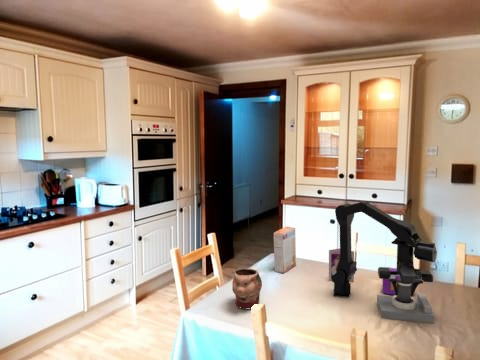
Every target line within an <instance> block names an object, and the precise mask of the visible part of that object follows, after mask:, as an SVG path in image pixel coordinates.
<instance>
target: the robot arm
mask: <svg viewBox="0 0 480 360" xmlns="http://www.w3.org/2000/svg"><path fill="white" fill-rule="evenodd" d="M357 213H363V214H365V215H366V216H368V217H370V218H371V219H373V220H374V221H376V222H378V223H379V224H381V225H383V226H384V227H386V228H387V229H388V230H389V231H390V233H391V234H392V235H393V236H394V237H396V238H395V239H393V240H392V241H391V244H393V245H397V246H396V269H397V271H390V270H389V268H388V267H389V266H384V267H383V266H379V267H378V268H377V274H378V275H377V276H378V279H380V280H381V279H382V280H383V279H388V281H391V282H392V284H393V287H394V291H395V294H396V295H397V280H396V278H395V277H396V276H400V278H401V281H402V282H411V283H412V285H411V297H412V298H413V296H414V294H415V291H416V290H417V287H418V286H419V285H420V284H421V285H422V284H423V283H434V275H433V274H432V273H431V270H429V269H420V268H415V266H414V265H415V264H414V259H415V258H416V259H417V260H419V261H426V262H429V263H435V262H436V260H437V256H438V250H437V248H436V243H434V242H426V241H423V239H422V238H421V237H420V235H419V234H418V233H417V229H416V226H415V225H414V224H412V223H410V222H408V221H406V220H403V219H402V220H401V219H398V218H395V217H394V216H392V215H390V214H388V213H386V212H385V211H383V210H381V209H379V208H378V207H377V206H375V205H373V204H371V203H370V202H369V201H367V200H363V201H359V202H357V203H353V204H352V203H349V202H346V203H343V204H342V203H341V204H340V205H337V207H336V208H335V211H334V214H335V219H336V221H337V223H338V225H339V248H340V259H339V262H338V265H337V271H336V273H335V274H334V275H333V276H332V277H331V279H332V281H331V283H333V296H334V297H343V298H350V295H351V290H352V289H351V286H352V285H351V282H349V279H351V277H352V276H353V275H354V276H355V274H356V272H358V269H357V264H358V263H357V261H355V260H354V261H353V259H352V257H351V251H352V223H353V221H354V217H355V214H357Z"/></svg>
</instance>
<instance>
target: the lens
mask: <svg viewBox="0 0 480 360" xmlns="http://www.w3.org/2000/svg"><path fill="white" fill-rule="evenodd" d="M411 285H412V283H411V282H402V281H401V278H400V279H397V301H398V302H401V303H411Z"/></svg>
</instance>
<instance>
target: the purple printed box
mask: <svg viewBox="0 0 480 360" xmlns="http://www.w3.org/2000/svg"><path fill="white" fill-rule="evenodd" d="M351 257H352V259H353V261H355V251H354V250H351ZM339 259H340V247H339V248H334V249H328V282H332V279H331V277H332V276H333V275H334V274H335V273H336V271H337V265H338V262H339ZM354 281H355V274H354V275H353V276H352V277H351V279H349V283H354Z"/></svg>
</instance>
